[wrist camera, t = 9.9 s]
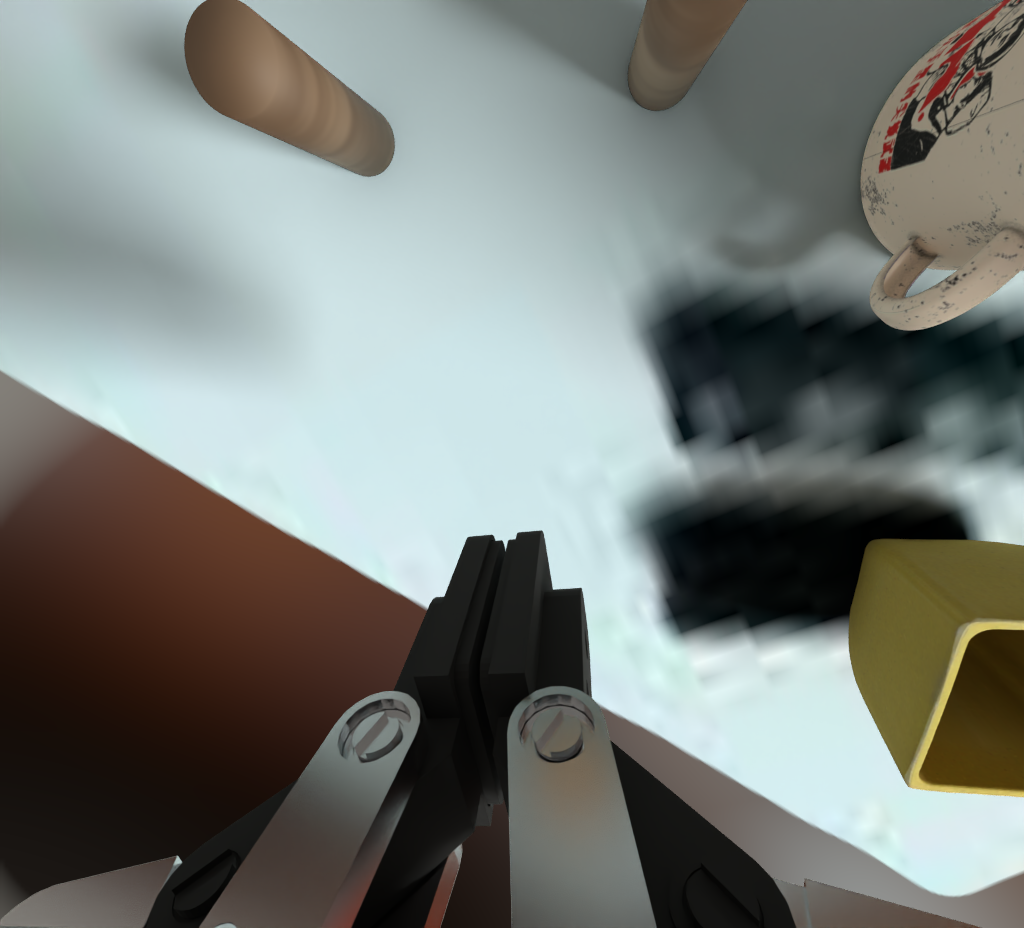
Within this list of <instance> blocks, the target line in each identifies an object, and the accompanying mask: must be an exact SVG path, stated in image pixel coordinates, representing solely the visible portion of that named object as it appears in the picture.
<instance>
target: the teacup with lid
mask: <svg viewBox="0 0 1024 928" xmlns="http://www.w3.org/2000/svg"><path fill="white" fill-rule="evenodd" d="M860 186H861V199H862V205H863V209H864V213H865V216H866V219H867V221H868V224H869V226H870V228H871V229H872V231H873V233H874V234H875V236H876V237H877V239H878V240H879V241H880V242H881V243H882V245H883V246H884V247H885V248H886V249H888V250H889V251H890V252H891V253H892V254H894V255H893V256H892V257H891V258H890V259H889V261H888V262H887V263H886V264H885V265H884V267H883V268H882V269H881V271H880V272H879V274H878V275H877V277H876V279H875V281H874V283H873V285H872V288H871V291H870V305H871V308H872V310H873V311H874V313H875V314H876V315H877V316H878V317H879V318H880V319H881V320H882V321H884V322H885V323H886V324H888V325H889V326H891V327H894V328H896V329H901V330H920V329H925V328H929V327H933V326H936V325H938V324H941V323H943V322H946V321H948V320H950V319H953V318H955V317H957V316H959V315H961V314H963V313H964V312H966V311H968V310H970V309H971V308H973V307H975V306H976V305H978V304H979V303H981V302H982V301H984V300H985V299H987V298H988V297H989V296H991V295H992V294H993V293H995V292H996V291H997V290H999V289H1000V288H1001V287H1002V286H1003V285H1005V284H1006V283H1007V282H1008V281H1009V280H1010V279H1012V278H1013V277H1014V276H1015V275H1016V274H1017V273H1018V272H1019V271H1021V270H1023V271H1024V0H1004V1H1002V2H1000V3H999V4H997V5H996V6H994V7H992V8H991V9H989V10H987V11H986V12H984V13H983V14H981V15H979V16H978V17H976V18H975V19H973V20H971V21H970V22H968V23H966V24H965V25H963V26H962V27H960V28H958V29H957V30H955V31H954V32H952V33H951V34H950V35H948V36H947V37H945V38H944V39H943V40H941V41H940V42H939V43H938V44H936V45H935V46H934V47H933V48H931V49H930V50H929V51H928V52H927V53H926V54H925V55H924V56H923V57H922V58H921V59H919V60H918V61H917V62H916V64H915V65H914V66H913V67H912V68H911V69H910V70H909V71H908V72H907V73H906V75H905V76H904V77H903V78H902V80H901V81H900V82H899V83H898V85H897V86H896V87H895V89H894V90H893V92H892V93H891V95H890V96H889V98H888V99H887V101H886V103H885V104H884V106H883V108H882V109H881V111H880V113H879V115H878V117H877V119H876V121H875V124H874V126H873V128H872V131H871V133H870V136H869V139H868V142H867V145H866V148H865V152H864V157H863V162H862V169H861V182H860ZM926 268H929V269H937V270H957V271H956V272H954V273H953V274H952V275H950V276H949V277H947V278H946V279H945V280H943V281H941V282H940V283H938V284H937V285H935V286H933V287H931V288H929V289H927V290H925V291H924V292H922V293H919V294H917V295H914V296H911V297H907V298H905V296H906V294H907V292H908V290H909V288H910V287H911V286H912V284H913V283H914V282H915V280H916V279H917V278H918V277H919V276H920V275H921V274H922V272H923V271H924V270H925V269H926Z"/></svg>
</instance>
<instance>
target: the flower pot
mask: <svg viewBox="0 0 1024 928" xmlns="http://www.w3.org/2000/svg"><path fill="white" fill-rule="evenodd" d="M849 652H850V659H851V664H852V669H853V673H854V676H855V680H856V683H857V685H858V688H859V690H860V693H861V695H862V697H863V699H864V701H865V703H866V705H867V707H868V709H869V711H870V713H871V715H872V717H873V719H874V721H875V723H876V725H877V727H878V730H879V732H880V734H881V736H882V738H883V739H884V741H885V743H886V745H887V747H888V749H889V751H890V753H891V755H892V757H893V759H894V761H895V763H896V765H897V767H898V769H899V771H900V773H901V775H902V777H903V779H904V781H905V783H906V784H907V785H908V787H910V788H913V789H920V790H928V791H939V792H949V793H968V794H984V795H998V796H1014V797H1024V546H1022V545H1015V544H1007V543H999V542H987V541H975V540H920V539H876V540H872V541H870V542H869V543H868V545H867V546H866V549H865V553H864V557H863V561H862V565H861V570H860V574H859V578H858V583H857V586H856V590H855V594H854V598H853V602H852V605H851V609H850V619H849Z"/></svg>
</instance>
